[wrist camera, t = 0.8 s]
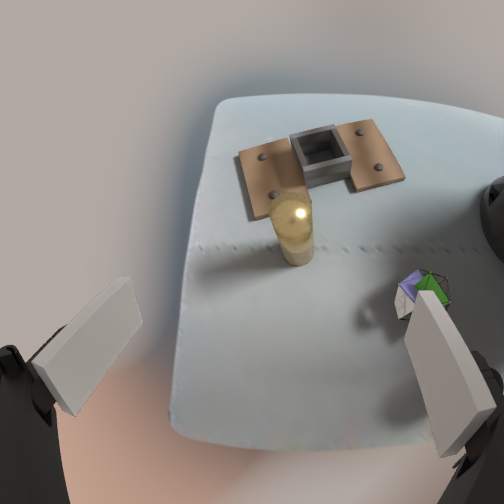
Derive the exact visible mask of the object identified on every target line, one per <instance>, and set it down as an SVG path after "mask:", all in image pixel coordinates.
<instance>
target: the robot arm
mask: <svg viewBox="0 0 504 504" xmlns="http://www.w3.org/2000/svg"><path fill="white" fill-rule="evenodd" d="M481 220H482V225H483V229H484V232H485V234H486V237H487V239H488V241H489V243H490V245H491V247H492V249H493V250H494V252H495V253H496V254H497V256H498V257H499V258H500V259H501V260H502V261H503V262H504V176H502V177H500V178H498V179H496V180H495V181H493V182H492V183H491V185H490V186H489V187H488V188H487V189H486V191H485V192H484V194H483V197H482V200H481ZM142 324H143V321H142V318H141V314H140V310H139V306H138V303H137V299H136V295H135V291H134V287H133V283H132V278H131V277H122V276H119V277H117V278H116V279H115V280H114V281H113V282H112V283H111V284H110V285H109V286H108V287H106V288H105V289H104V290H103V291H102V292H101V293H100V294H99V295H98V296H97V297H96V298H94V300H92V301H91V302H90V303H89V304H88V305H87V306H86V307H85V308H84V309H83V310H82V311H81V312H80V313H79V314H78V315H77V316H76V317H75V318H74V319H72V320H71V322H69V323H68V324H67V325H65V326H63V327H62V328H60V329H58V330H57V332H55V333H54V335H53V336H52V338H49V340H48V341H47V342H46V343H45V344H44V345H43V346H42V347H41V348H40V349H39V350H38V351H37V352H36V353H35V354H34V355H33V356H32V357H31V358H30V359H29V360H28V361H27V362H26V363H25V362H24V360H23V358H22V356H21V355H20V353H19V351H18V349H17V348H16V347H15V346H14V345H6V346H4V347H2V348H0V504H70V501H69V496H68V492H67V487H66V483H65V478H64V472H63V467H62V461H61V454H60V447H59V439H58V429H57V418H56V410H55V408H54V406H53V405H54V404H55V402H57V403H58V405H59V406H60V407H61V409H62V410H63V411H65V412H67V413H69V414H71V415H73V416H75V417H76V416H77V414H78V413H79V411H80V410H81V408H82V407H83V405H84V404H85V403H86V401H87V400H88V398H89V397H90V395H91V394H92V393H93V391H94V390H95V388H96V387H97V385H98V384H99V383H100V381H101V380H102V379H103V377H104V376H105V374H106V373H107V372H108V370H109V369H110V367H111V366H112V365H113V363H114V362H115V360H116V359H117V358H118V356H119V355H120V354H121V352H122V351H123V350H124V348H125V347H126V346H127V344H128V343H129V342H130V340H131V339H132V337H133V336H134V335H135V334H136V332H137V331H138V330H139V328H140V327H141V326H142ZM404 342H405V345H406V347H407V350H408V353H409V356H410V359H411V362H412V365H413V368H414V371H415V374H416V377H417V380H418V383H419V386H420V389H421V393H422V396H423V399H424V403H425V406H426V410H427V413H428V417H429V421H430V425H431V429H432V433H433V437H434V441H435V445H436V450H437V454H438V458H444V457H448V456H452V455H455V454H457V453H458V452H459V451H460V450H461V449H462V448H463V447H464V446H465V449H466V453H465V454H464V456H462V458H461V459H459V460H458V461H457V462H456V463H455V465H454V466H453V467H452V468H455V467H457V466H458V465H459V466H458V468H457V469H456V472H455V473H454V475H453V477H452V479H451V481H450V482H449V484H448V486H447V488H446V490H445V491H444V493H443V495H442V496H441V498H440V500H439V501H438V503H437V504H504V395H503V393H502V391H501V389H500V387H499V385H498V383H497V381H496V379H494V375H493V373H492V371H490V367H489V366H488V364H487V362H486V360H485V359H484V358H483V357H482V356H481V355H480V354H479V353H478V352H477V351H471V352H470V351H469V349H468V347H467V346H466V344H465V342H464V340H463V338H462V337H461V335H460V333H459V332H458V330H457V328H456V326H455V325H454V323H453V321H452V320H451V318H450V317H449V315H448V313H447V312H446V310H445V309H444V307H443V305H442V304H441V302H440V301H439V299H438V298H437V296H436V295H435V293H434V292H433V290H430V291H418V293H417V297H416V301H415V304H414V308H413V311H412V315H411V318H410V322H409V325H408V328H407V331H406V334H405V337H404Z"/></svg>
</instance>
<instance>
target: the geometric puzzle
mask: <svg viewBox="0 0 504 504" xmlns="http://www.w3.org/2000/svg"><path fill="white" fill-rule="evenodd" d="M419 270H421V269H418V268H417V270H415V271H414V272H413V273H412V274H411V275H409V276H408V277H407V278H406V279H404V280H403V281H402V282H401V283H399V284H398V289H397V293H396V297H395V301H394V304H395V307H396V311H397V315H398V320H399V319H400V318H402V317H404V316H406V315H407V314H409V313H410V312H411V313H412V311H413V308H414V304H415V301H416V297H417V293H418V291H430V290H433V292H434V293H435V295H436V296H437V298H438V299H439V301H440V302H441V304H442V305H443V306H445V305H446V308H445V309H446V310H447V304H448V303H451V301H450V300H449V299H448V297H447V296H446V294H445V293H444V291H443V290H442V288H441V286H440V285H441V284H442V283H443V282H444V281H445V280H446V279H448V278H446V279H445V280H444V281H442V282H441V283H438V282H437V280H436V279H435V278H434V276H433V275H432V274H434V273H432V272H428V271H425V270H424V271H425V272H428V273H429V274H428V273H427V274H428V275H426V276H425V277H423V275H422V274H421V273H420V271H419ZM422 271H423V270H422ZM424 275H425V274H424ZM435 275H437V274H435ZM438 276H440V275H438ZM441 277H442V276H441ZM444 278H445V277H444ZM447 281H448V280H447ZM448 289H449V287H448ZM403 291H404V292H403ZM449 296H450V295H449ZM448 305H449V304H448ZM448 307H449V306H448ZM446 312H447V311H446ZM401 320H402V321H403V320H405V319H401ZM409 321H410V320H409Z"/></svg>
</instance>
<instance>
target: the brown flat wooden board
mask: <svg viewBox="0 0 504 504" xmlns="http://www.w3.org/2000/svg"><path fill="white" fill-rule="evenodd" d="M290 141H291V146H290V143H289V141H288V139H287V138H285V139H281V140H277V141H274V142H270V143H267V144H263V145H260V146H256V147H253V148H250V149H246V150H243V151H240V152H238V153H239V157H240V161H241V165H242V169H243V173H244V177H245V181H246V184H247V188H248V192H249V196H250V200H251V204H252V208H253V212H254V216H255V219H256V220H259V219H262V218H266V217H269V207H270V204H271V202H272V201H273V200H274V199H275V198H276V197H277V196H278V195H280V194H282V193H285V192H297V193H300V194H302V195H304V196H305V197H306V198H307V199H308V200H309V202H310V204H311V199H310V196H309V193H308V191H307V189H309V188H312V187H316V186H320V185H324V184H327V183H331V182H335V181H339V180H343V179H347V178H350V179H351V181H352V183H353V186H354V188H355V190H356V192H360V191H364V190H368V189H372V188H376V187H380V186H384V185H388V184H392V183H396V182H400V181H404V179H405V175H404V173H403V171H402V169H401V167H400V165H399V164H398V162H397V160H396V158H395V156H394V155H393V153H392V151H391V149H390V148H389V146H388V144H387V142H386V141H385V139H384V137H383V136H382V134H381V133H380V131H379V129H378V128H377V126H376V124H375V123H374V121H373V120H372V119H369V120H363V121H358V122H353V123H348V124H343V125H338V126H335V125H334V124H333V125H329V126H324V127H320V128H316V129H311V130H307V131H303V132H299V133H295V134H292V135H290ZM291 147H292V149H291ZM329 148H331V150H332V152H333V154H334V156H335V158H336V159H332V160H328V161H324V162H320V163H316V164H312V165H308V164H307V161H306V159H305V156H304V155H305V154H309V153H313V152H317V151H321V150H325V149H329ZM311 205H312V204H311Z"/></svg>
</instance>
